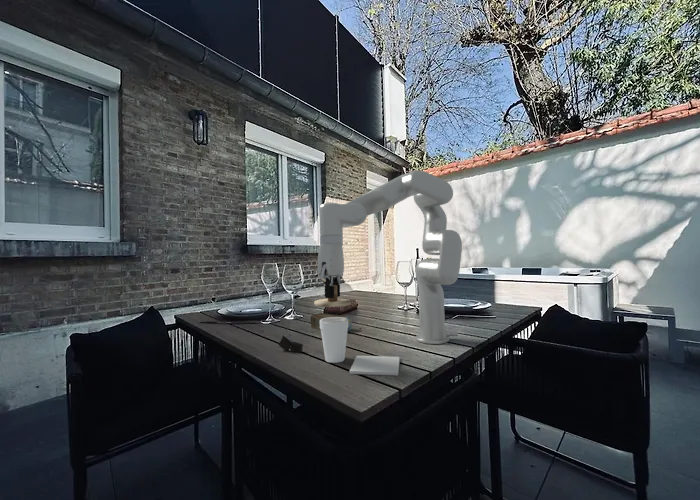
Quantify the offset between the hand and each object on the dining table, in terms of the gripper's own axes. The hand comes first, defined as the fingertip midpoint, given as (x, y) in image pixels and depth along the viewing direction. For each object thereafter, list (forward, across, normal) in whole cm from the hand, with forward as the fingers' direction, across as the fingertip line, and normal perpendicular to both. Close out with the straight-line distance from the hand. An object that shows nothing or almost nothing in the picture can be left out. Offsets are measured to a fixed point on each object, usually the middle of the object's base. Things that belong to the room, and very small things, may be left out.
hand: (332, 296), depth 110 cm
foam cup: (+21, 0, 0) cm, 21 cm away
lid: (+2, 0, 0) cm, 2 cm away
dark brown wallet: (+21, -3, -19) cm, 29 cm away
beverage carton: (+21, -37, -23) cm, 49 cm away
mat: (+21, 0, +15) cm, 26 cm away
